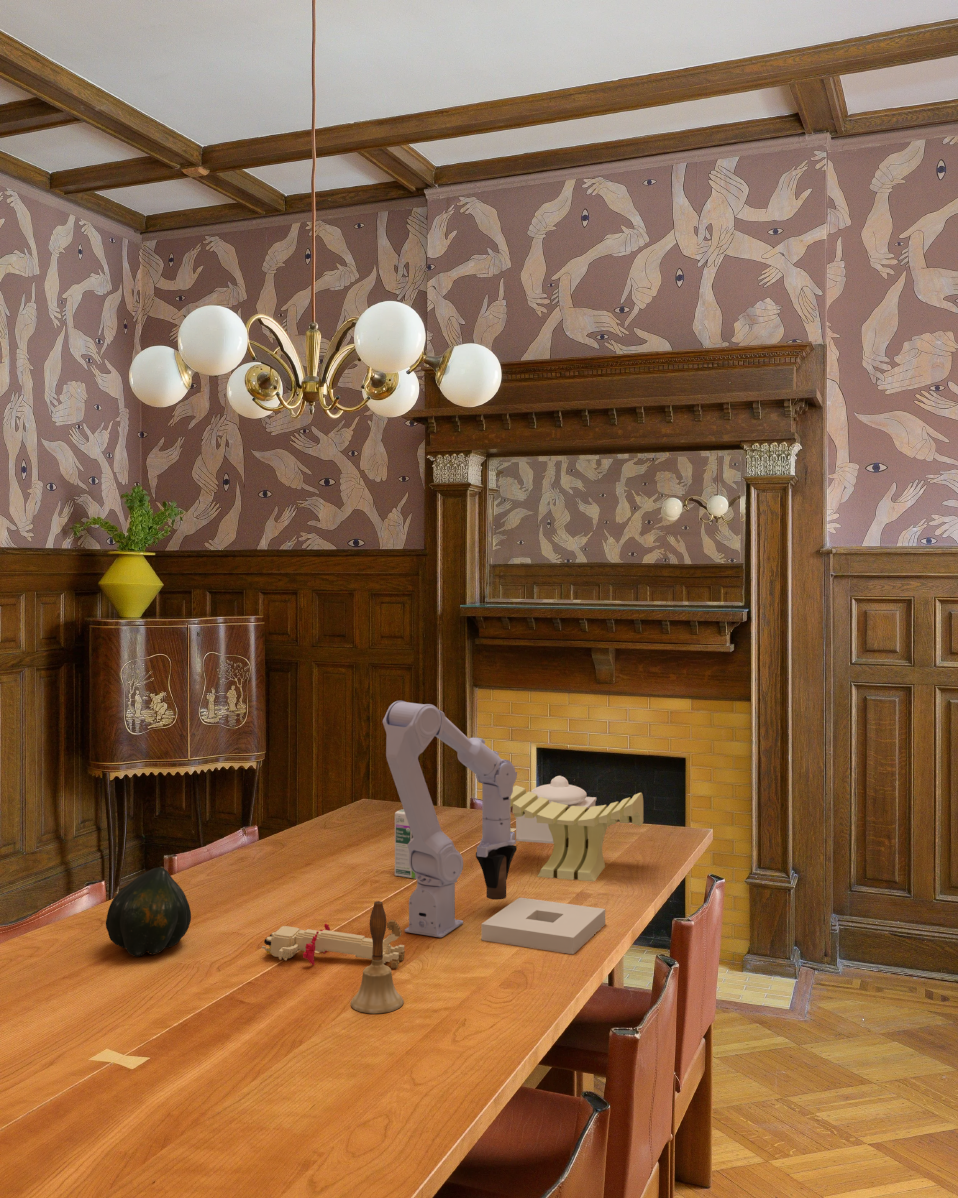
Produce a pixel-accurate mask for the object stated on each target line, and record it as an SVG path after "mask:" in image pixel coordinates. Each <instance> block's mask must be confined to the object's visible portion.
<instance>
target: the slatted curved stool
mask: <svg viewBox="0 0 958 1198" xmlns="http://www.w3.org/2000/svg"><path fill="white" fill-rule="evenodd" d="M511 808H512V814H513V815H514V816H513V817H514V818H515V819H516V817H521V816H523V815H524V814H525V818H534V817H535V816H536V819H537V823H547V824H548V826H549V830H550V832H551V834H552V838H553V842H554V844H553V849H552V853H551V855H550V857H549V859H548V860H547V861H546V863H545V864H544V865H543V866H542V868H540V871H539V873H538V875H537V876H536V877H537V878H546V879H547V878H548V879H554V878H557V879H560V880H571V881H572V880H577V881H583V882H584V881H585V882H596V880H597V878H598V877H599V876H600V874H601V873H602V872H603V871H604V870H605V868H606V863H605V859H604V854H603V844H604V838H605V834H606V832H607V830H608V827H610V826H612V825H615V824H617V823H618V821H619V823H620V824H623V823H624V824H629V822H631V824H632V825H636V826H639V827H641V826H642V825H643V823H644V796H643V793H642V792H638V793H635V794H634V795H633V796H632V798H631V797H630V796H629V797H626V798H623V799H622V800H621V801H620V802H619V801H615V802H611V803H610V804H609V805H607V804H604V805H602V804H601V805H595V806H592V807H590V808H588V807H580V806H571V807H568V805H565V804H560V803H556V802H551V803H550V804H549V800H548V799H545V798H542V797H540V798H538V796H537V794H534V793H532V792H531V791H529V790H528V791H527V789H526V788H525V787H522V786H520V785H513V793H512V795H511Z"/></svg>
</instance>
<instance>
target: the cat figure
mask: <svg viewBox="0 0 958 1198" xmlns="http://www.w3.org/2000/svg"><path fill="white" fill-rule="evenodd" d="M323 925H324V926H323V927H324V929H320V930H317V929H316V930H315V929H310V928H309V929H308V928H307V929H306V930H304V929H301V928H299V927H295V926H289V925H284V926H283V925H282V926H281V927H280V928H278V929H277V930H276V931H275V932H274V931H273V932H272V933H270V935H269V936H267V937H266V938H265V939H264V942H263V943H264V944H265V946H264V945H262V946H261V949H264V951H265V953H266V954H268V955H272V956H273V957H275V958H278V959H279V960H282V959H283V960H284V961H287V960H288V959H291V958H292V957H294V956H295V955H296V954H297V953H298V952H299V951H304V952H303V955H302V958H303V959H307V960H308V962H309V963H310V964H311V966H315V965H316V963H315V958H314V957H315V952H322V953H323V954H326V953H327V952H333V953H341V954H345V955H347V954H348V955H355V957H356V958H361V959H367V960H372V955H373V954H372V952H373V940H372V937H371V938H370V937H366V936H365V935H361V934H354V933H348V932H342V931H333V930H331V928H330V927H331V926H329V924H327V923H324V924H323ZM386 929H388V931H391V933H390V934H389V935H388V936H386V938H385V937H384V939H383V954H382V955H383V958H382V959H383V964H384V965H385V964H387V962H388V963H390V968H391V969H395V970H398V967H399V964H400V962H403V961H404V957H405V956H406V955H405V952H406V951H405V945H404V944H399V945H395V946H392V944H390V943H392V942H395V941H396V940H398V939H399V938H400V937H401V936H402V929H401V925H399V924H398V922H396V919H395V920H394V919H390V920H388V922H386ZM266 946H268V947H266Z"/></svg>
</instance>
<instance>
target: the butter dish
mask: <svg viewBox="0 0 958 1198" xmlns="http://www.w3.org/2000/svg"><path fill="white" fill-rule="evenodd" d="M530 792H532V793H534V794H537V796H538V798H540V797H542V798H545V799H548V800H549V804H550V803H551V802H556V803H560V804H565V805H568V807H571V806H580V807H588V808H590V807H592V806H596V801H597V796H596V797H594V796H593V797H592V796H587V795H588V794H587V792H586V791H585V789H583V788H582V787H579V786H577V785H573V784H569V781H568V779H567V778H566V777H564V776H562V775H557V776H555V777H553V778H552V779H551V781H550V783H548V784H542V785H539V786H536V787H535V788H533V789H532V790H531V791H530ZM515 840H516V842H527V843H541V844H542V843H543V844H553V845H554V842H553V838H552V834H551V832H550V830H549V826H548V824H547V823H537V819H536V816H535V817H534V818H525V814H524V815H523V816H521V817H516V818H515Z"/></svg>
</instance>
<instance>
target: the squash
mask: <svg viewBox="0 0 958 1198" xmlns="http://www.w3.org/2000/svg"><path fill="white" fill-rule="evenodd" d="M191 921H192V911H191V907H190V904H189V901H188V899H187V896H186V894H185V893H184V891H183V889H182V888H181V886H180V885H179V884H178V883H177V881H175V880H174V878H173V877H172V876H171V874H170V873H169V872H168V871H167V869H165V867H164V866H159V867H154V868H151V869H150V870H147V871H146V872H144V873H142V874H140V875H139V876H137V877H136V878H135V879H133V880H132V881H130V882H129V883H128V884H127V885H125V886H124V887H123V888H121V890H119V892H118V893H117V894H116V895H115V896H114V897H113V899H112V901H111V903H110V905H109V907H108V909H107V915H106V920H105V929H106V931H107V933H108V938H109V939H110V941H111V942H112V943H113V944H114V945H116V946H118V947H120V948H122V949H126V951H127V952H128V954H129V955H130V956H133V957H137V958H140V957H142V956H144V955H146V954H147V953H148V954H151V955H157V954H159V953H161V952H162V951H164V949H167V948H171V947H173V946H174V947H175V945H177V944H179V942H180V941H181V939H182V938H183V937H184V936H185V935H186V934H187V932H188V930H189V927H190V924H191Z"/></svg>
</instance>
